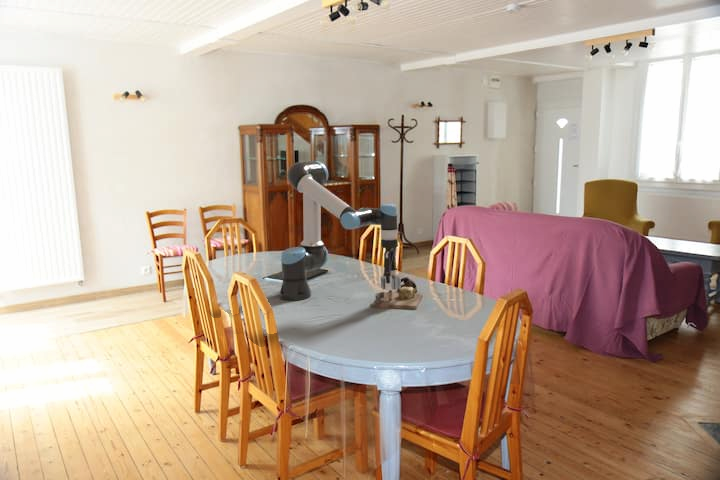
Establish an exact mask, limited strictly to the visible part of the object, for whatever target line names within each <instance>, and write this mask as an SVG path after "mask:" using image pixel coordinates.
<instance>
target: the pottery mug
mask: <svg viewBox="0 0 720 480" xmlns="http://www.w3.org/2000/svg"><path fill="white" fill-rule="evenodd" d="M401 283H403V284H401V288H402V287H413V288H414V289H415V293H418V288H417V285H416V282H415V281H414V280H413V279H410V278H409V276H406V277H405V276H404V277H402V278H401ZM396 291H397V293H399V288H398V289H397V290H396Z"/></svg>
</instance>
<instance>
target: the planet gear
mask: <svg viewBox="0 0 720 480" xmlns="http://www.w3.org/2000/svg"><path fill="white" fill-rule="evenodd" d="M401 279H402V278H401V276H400V275H398V274H395V275H391V281H392V291H393V290H396V291H397V289H398V288H401V285H402V282H401ZM380 288H381V290H385V276H383V275H381V276H380Z"/></svg>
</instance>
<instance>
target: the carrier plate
mask: <svg viewBox="0 0 720 480" xmlns="http://www.w3.org/2000/svg"><path fill="white" fill-rule="evenodd" d="M423 295H424V294H423V293H418V292H416V290H415V289H414V288H413V287H402V288H399V292H396V291H395V292H393V290H388V291H380V292H376V293H375V300H374V301H373V302H372V305H371V306H372V308H382V309H383V308H385V309H404V310H405V309H407V310H409V309H410V310H417V309H418V307H419V305H420V302H422V299H423Z"/></svg>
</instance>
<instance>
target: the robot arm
mask: <svg viewBox="0 0 720 480" xmlns="http://www.w3.org/2000/svg"><path fill="white" fill-rule="evenodd" d="M286 177H287V181H288V183H289V184H290V185H291V187H292V188H293V189H294V190H296V191H297V192H299V193H302V196H303V198H302V199H303V200H302V201H303V203H302V205H303V207H302V209H303V214H302V215H303V218H302V219H303V221H302V222H303V240H302V241H301V242H300V246H293V247H289V248H286V249H284V250H283V251H282V252H281V259H280V260H281V261H280V262H281V271H282V274H281V275H282V282H281V287H280V290H279V298H280V299H281V298H282V299H281V300H284V299H285V301H300V300H306V299H309V298H310V297H311V296H312V290H311V288H310V285H309V283H308V278H307V273H309V272H312V271H314V270H315V271H316V270H319V269H320V268H322V267H325V266H326V264H327V263H328V260H329V251H328V249H327V248H326V246H325V243H324V242H323V240H322V237H321V236H322V234H321V233H322V232H321V231H322V229H321V228H322V227H321V226H322V223H321V222H322V221H321V220H322V217H321V216H322V215H321V214H322V212H321V211H322V210H321V209H322V208H323V209H325V210H327V211H328V212H329V213H330V214H332V215H333V216H334V217H336V218H337V219H339V221H340V224H341V226H342V227H343V229H345V230H355V229H359V228H361V227H366V226H371V225H376V226H380V239H381V243H380V244H381V245H380V246H381V248H382V249H385V251H384V253H383V257H384V258H383V259H384V260H383V261H384V262H383V263H384V264H383V274H382V276H385V289H384V290H385V291H389V290H392V281H391V275H396V271H398V268H397V261H396V248H398V247H399V240H398V234H400V232H399V231H398V208H397V205H396V204H394V203H384V204H381V205H380V207H379V208H374V207H361V208H359V209H358V210H356V209H354V208H353V207H352V206H350V205H349V204H347V203H346V202H345V201H344V200H342V199H340V198H339V197H338V196H336V195H335V194H334V193H333V192H331V191H330V190H329V189H327V188H326V187H325V186H324V185H325V183H326V182H327V181H328V179H329V171H328V168H327V166H326V165H325V164H324V163H323V162H321V161H317V160H316V161H315V160H310V161H297V162H295V163H293V164H292V165H290V167H289V168H288V170H287V174H286ZM321 207H322V208H321ZM392 291H393V290H392ZM308 297H309V298H308Z"/></svg>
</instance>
